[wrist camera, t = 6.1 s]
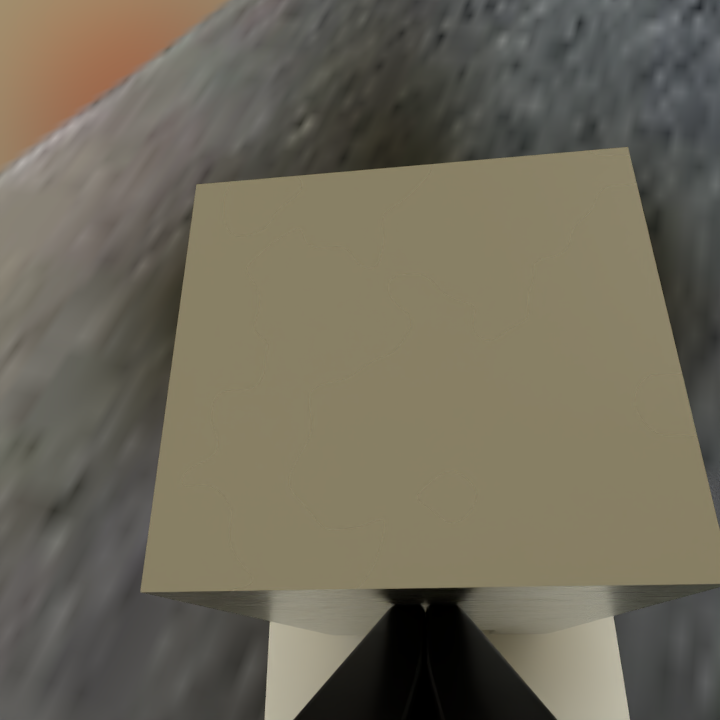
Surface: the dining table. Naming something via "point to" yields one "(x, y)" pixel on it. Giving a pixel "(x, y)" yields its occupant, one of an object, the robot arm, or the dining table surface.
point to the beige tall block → (429, 402)
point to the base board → (522, 651)
